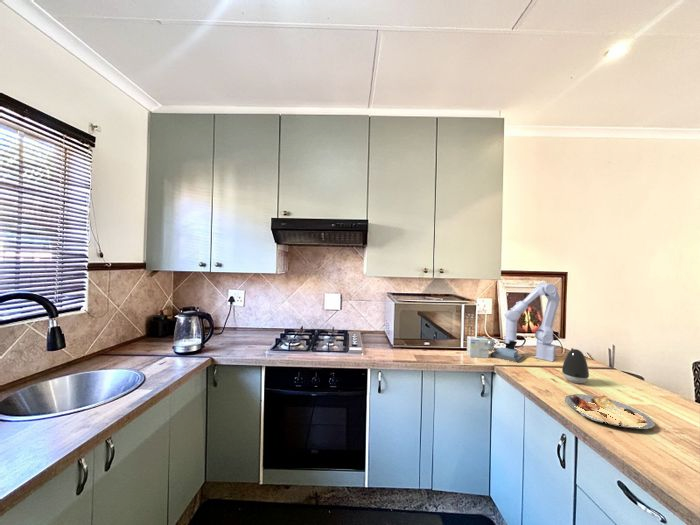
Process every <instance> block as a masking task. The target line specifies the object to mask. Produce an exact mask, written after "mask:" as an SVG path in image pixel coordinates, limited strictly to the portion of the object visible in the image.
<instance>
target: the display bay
mask: <svg viewBox="0 0 700 525" xmlns="http://www.w3.org/2000/svg"><path fill="white" fill-rule="evenodd" d="M490 357H491V358H495V359H499V358H500V359H499V360H503V359H504V361H508V360H509V361H508V362H512V361H513V362H512V363H516V362H517V364H518V363H520V362H521V361H522V360H523V358H524V359H525V354H523V353H521V354H520V355H518V357H517V358H513V357H508V356H504V355H499V354H497V349H496V350H493V351H492V352H491V353H490ZM519 361H520V362H519Z"/></svg>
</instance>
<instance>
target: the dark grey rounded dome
mask: <svg viewBox="0 0 700 525" xmlns="http://www.w3.org/2000/svg"><path fill="white" fill-rule="evenodd" d="M561 372H562V375H563V377H564V379H565V380H567V381H568V382H569V383H570V382H571V383H573V384H577V383H581V384H584V383H586V382H587V381H588V378H589V377H590V370H589V366H588V363H587V359H586V356H585V355H584V353H583V352H582V351H581V350H580V349H578V348H577V349H576V348H574V347H573V348H571V349H570V350H569V351H568V352H567V354H566V356H565V358H564V361H563V364H562V368H561Z"/></svg>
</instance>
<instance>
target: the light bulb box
mask: <svg viewBox="0 0 700 525" xmlns="http://www.w3.org/2000/svg"><path fill="white" fill-rule="evenodd" d="M489 339H490V338H487V337H486V336H469V335H467V336H466V355H467V356H468V357H469V358H481V359H482V358H483V359H488V358H489V351H490V350H489Z"/></svg>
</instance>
